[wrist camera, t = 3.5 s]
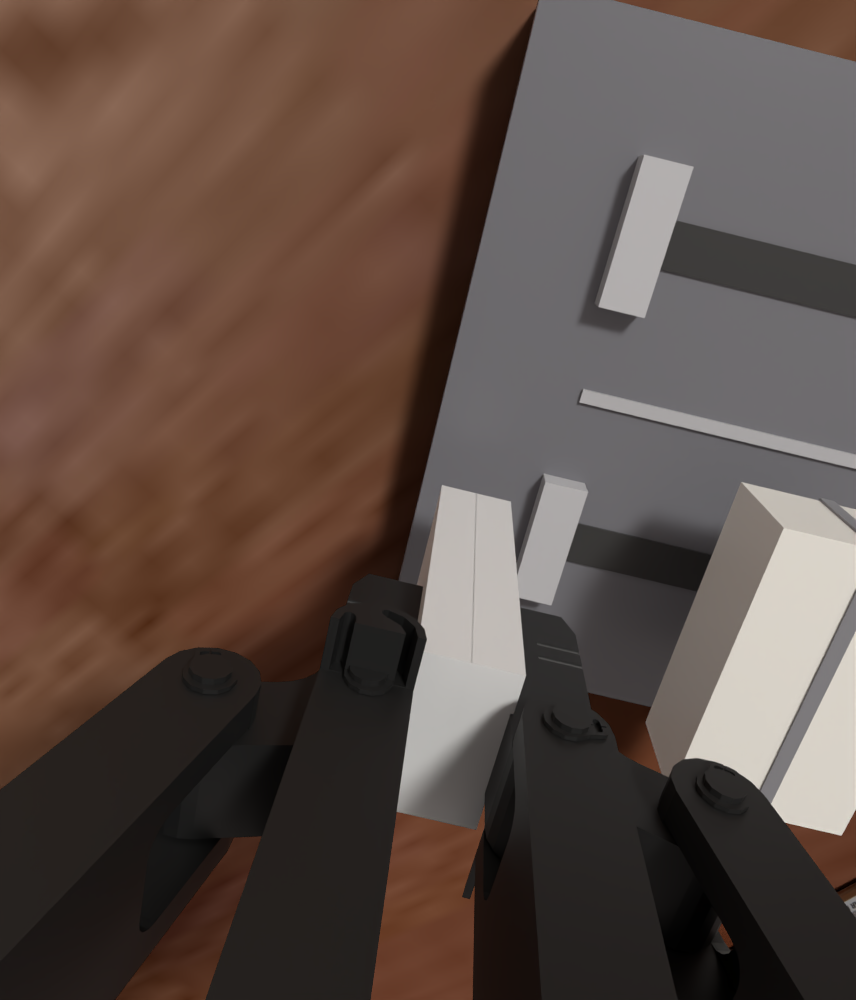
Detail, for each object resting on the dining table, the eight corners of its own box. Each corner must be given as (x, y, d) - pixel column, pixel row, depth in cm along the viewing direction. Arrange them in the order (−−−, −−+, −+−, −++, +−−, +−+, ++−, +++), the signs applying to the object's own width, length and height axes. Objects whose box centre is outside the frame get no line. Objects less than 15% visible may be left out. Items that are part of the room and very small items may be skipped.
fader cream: (629, 675, 20) (668, 799, 16) (714, 450, 18) (785, 526, 14) (766, 707, 20) (841, 839, 16) (868, 487, 18) (985, 574, 14)
